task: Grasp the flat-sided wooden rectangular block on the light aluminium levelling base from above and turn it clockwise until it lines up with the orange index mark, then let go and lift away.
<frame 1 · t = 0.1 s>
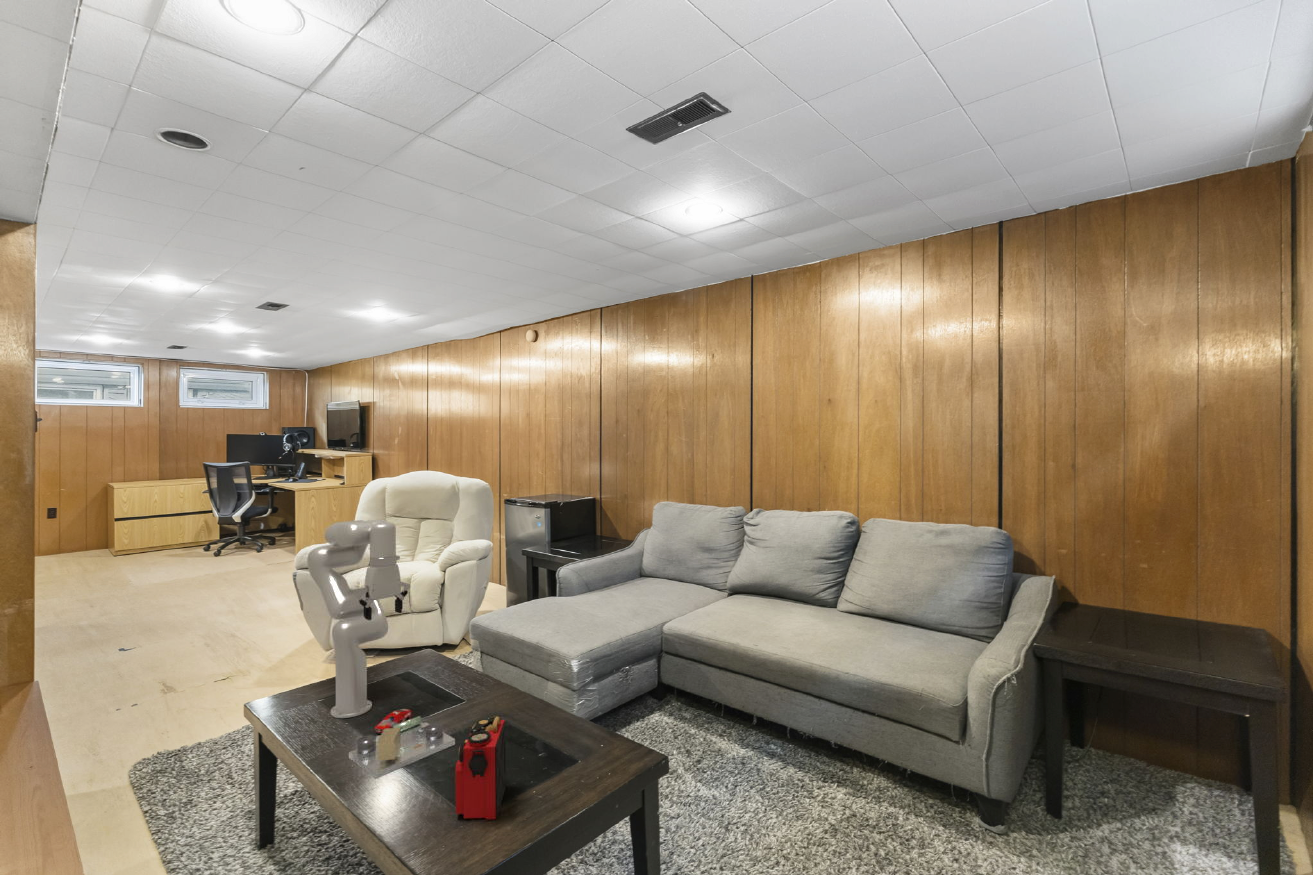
hand: (383, 615, 192), 37 cm above the table, tool pointing down, fingers open, 9 cm apart
levelling base: (402, 750, 180), on the table
race car: (393, 726, 196), on the table
radio: (482, 804, 153), on the table
wooden rectangular block: (391, 742, 174), point 5 cm above the table, hinge at 50.0°
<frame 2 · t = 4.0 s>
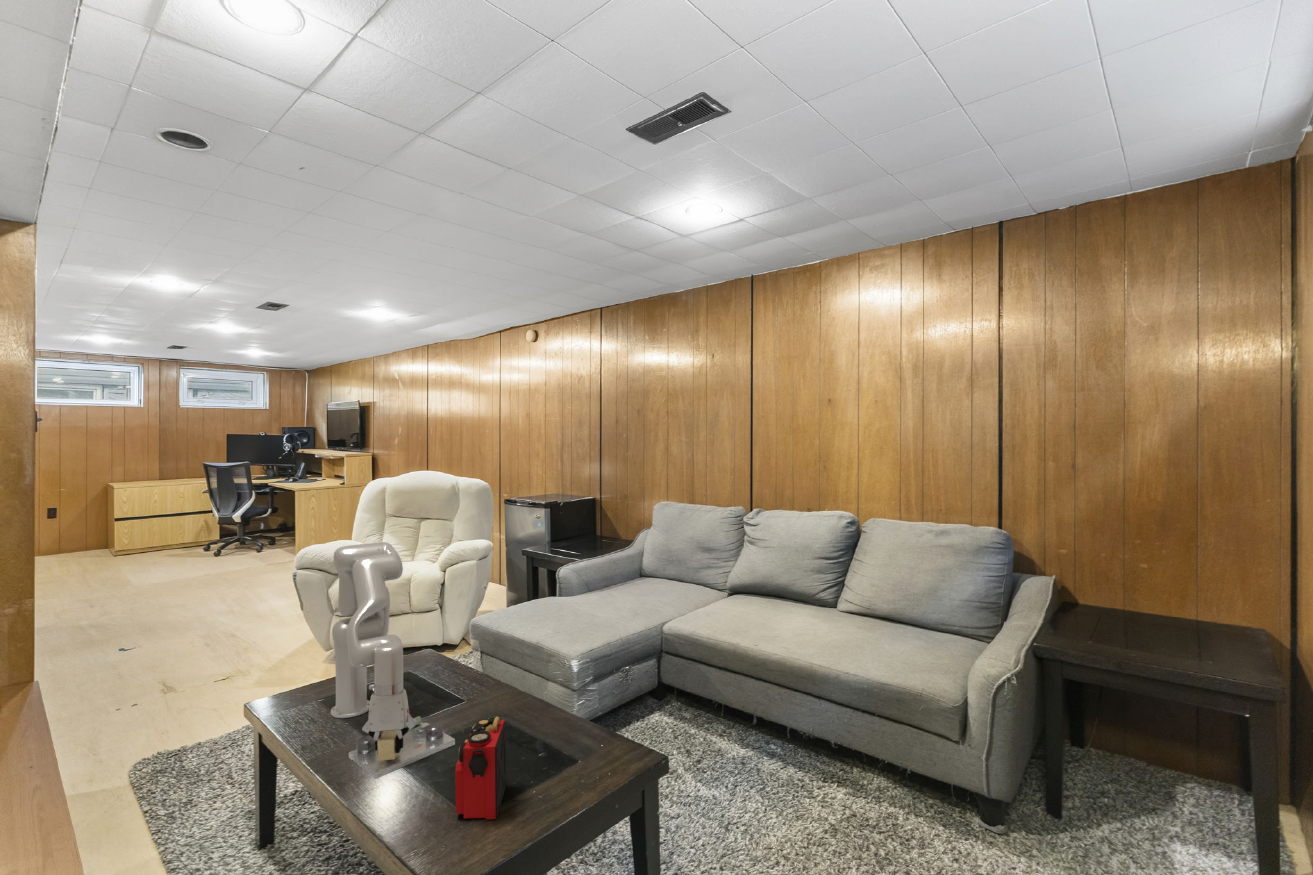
hand: (389, 750, 173), 4 cm above the table, tool pointing down, fingers closed on wooden rectangular block, 4 cm apart
wooden rectangular block: (391, 742, 174), point 5 cm above the table, hinge at 50.0°, touching gripper
everything else where it was.
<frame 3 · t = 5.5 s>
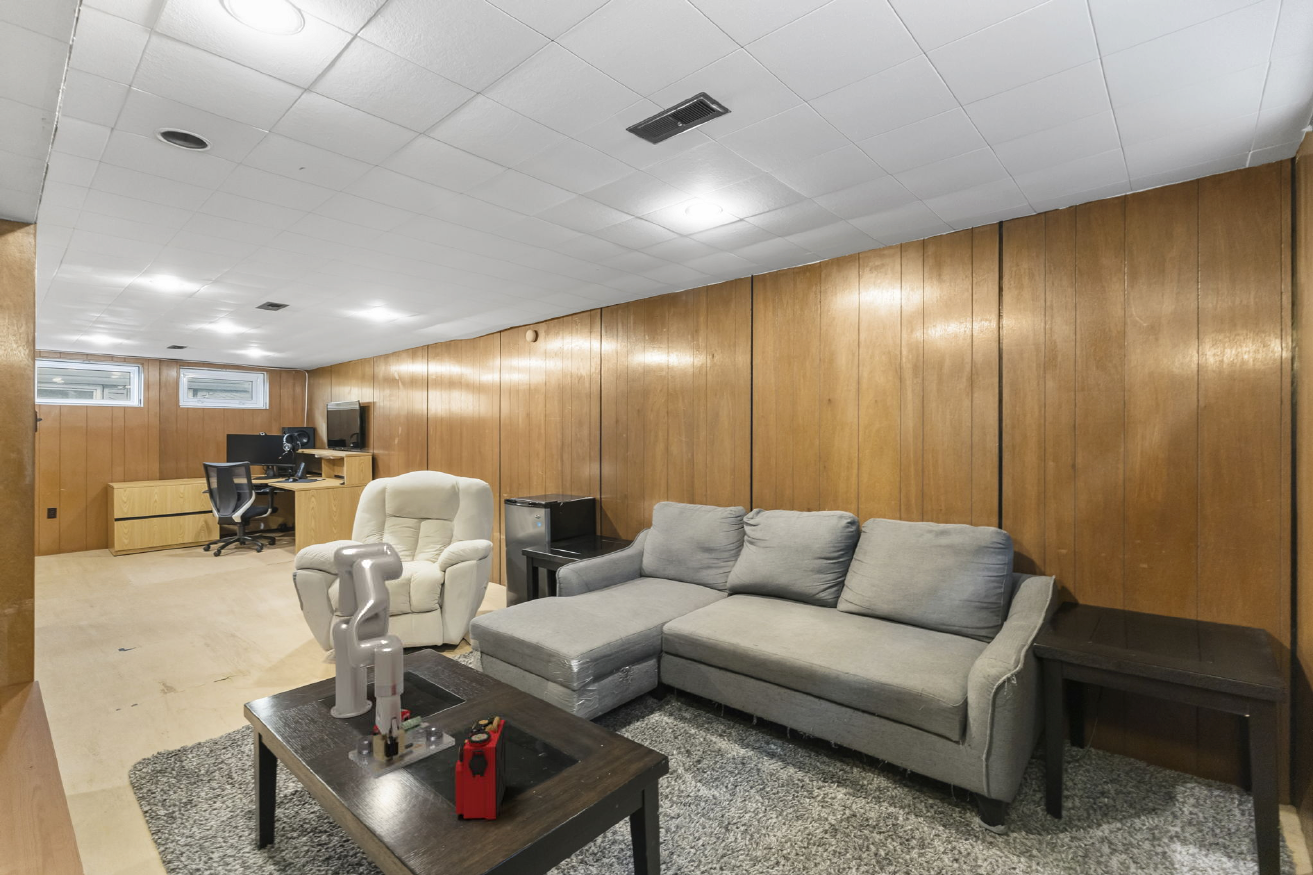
hand: (389, 750, 173), 4 cm above the table, tool pointing down, fingers closed on wooden rectangular block, 5 cm apart
wooden rectangular block: (395, 743, 174), point 5 cm above the table, hinge at 2.6°, touching gripper
everything else where it was.
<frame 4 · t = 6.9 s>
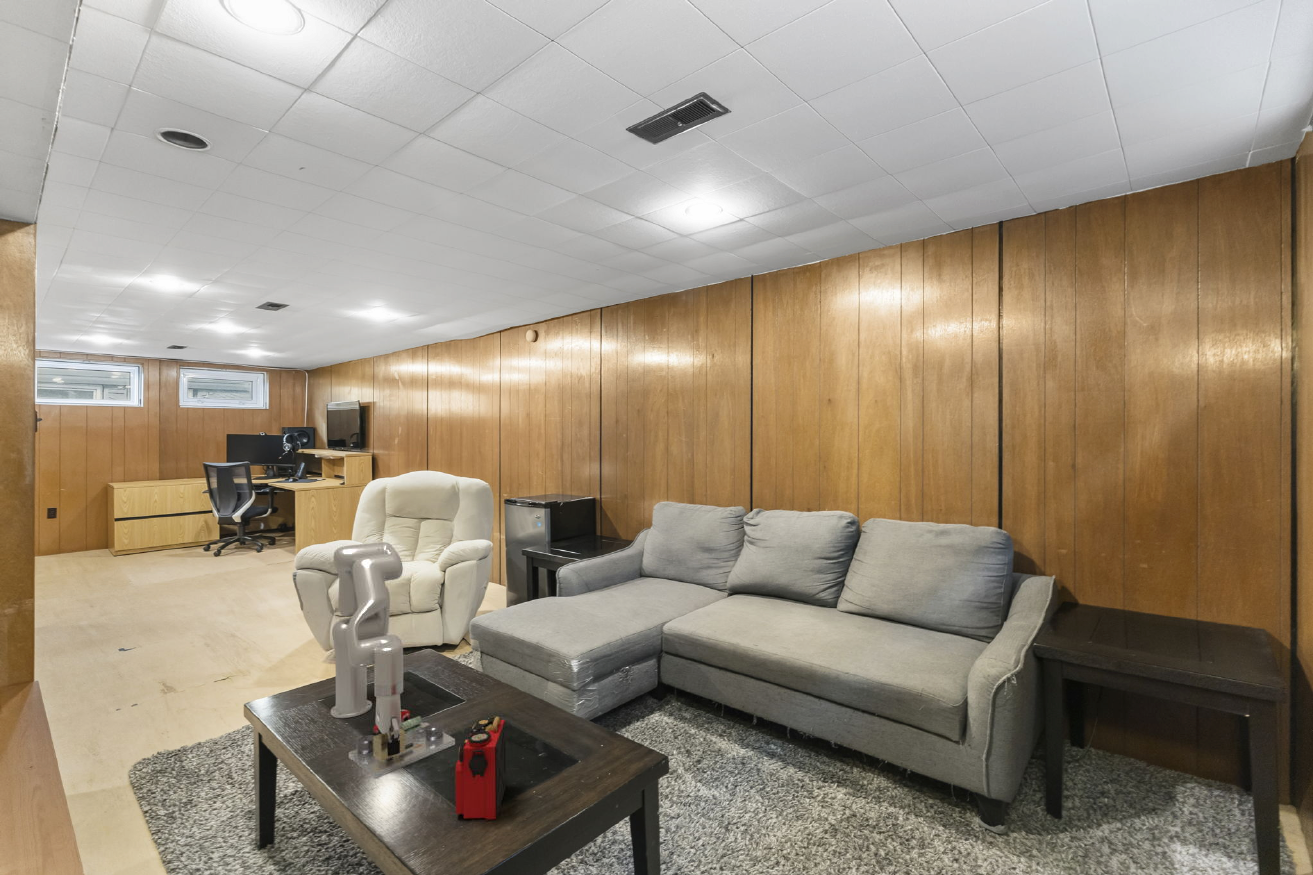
hand: (389, 747, 173), 5 cm above the table, tool pointing down, fingers open, 9 cm apart
wooden rectangular block: (395, 743, 174), point 5 cm above the table, hinge at 2.2°
everything else where it was.
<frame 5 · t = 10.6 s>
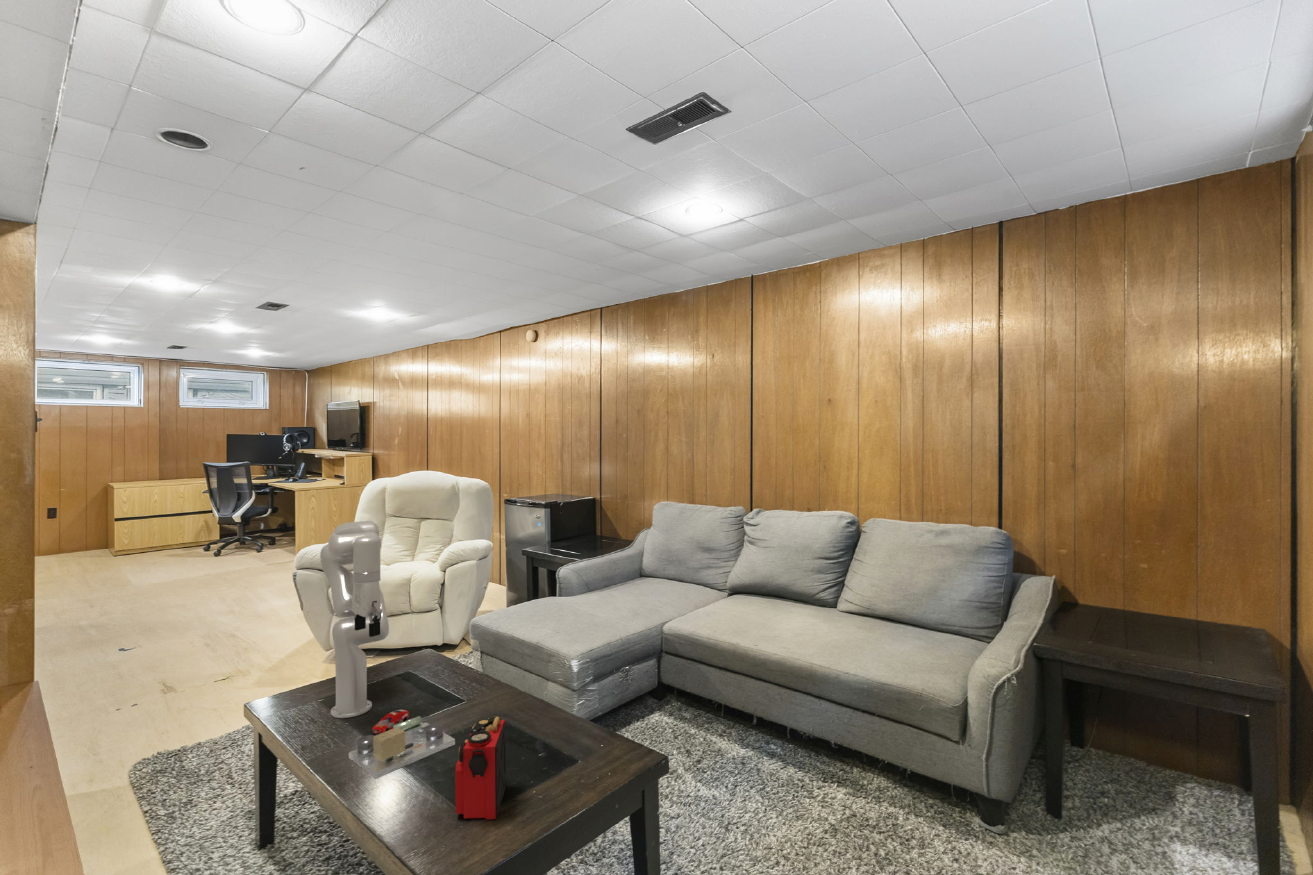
hand: (367, 632, 186), 33 cm above the table, tool pointing down, fingers open, 9 cm apart
nothing on the table moved.
at the end: wooden rectangular block at +2° (first picture: +50°); race car moved 1.0 cm from its start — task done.
